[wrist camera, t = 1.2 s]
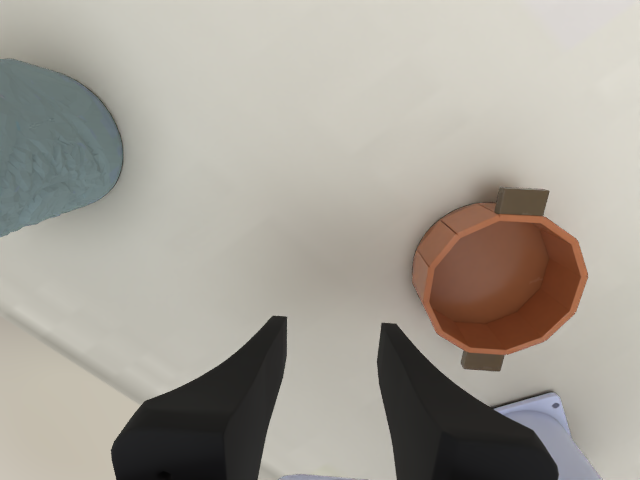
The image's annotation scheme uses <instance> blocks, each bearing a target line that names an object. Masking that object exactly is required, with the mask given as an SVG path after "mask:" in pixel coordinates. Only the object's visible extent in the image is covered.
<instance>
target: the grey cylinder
mask: <svg viewBox="0 0 640 480" xmlns="http://www.w3.org/2000/svg"><path fill="white" fill-rule="evenodd" d="M122 161H123V150H122V143H121V138H120V135H119V132H118V129H117V127H116V124H115V122H114V120H113V118H112V116H111V115H110V113H109V111H108V110H107V109H106V107H105V106H104V105H103V103H102V102H101V101H100V100H99V98H98V97H96V96H95V95H94V94H93V93H92V92H91V91H90V90H88V89H87V88H86V87H84V86H83V85H82V84H80V83H79V82H77V81H76V80H74V79H72V78H70V77H68V76H66V75H64V74H61V73H58V72H55V71H52V70H49V69H45V68H42V67H38V66H35V65H32V64H28V63H25V62H22V61H18V60H15V59H0V237H2V236H5V235H8V234H9V233H10V232H14V231H18V230H19V229H20V228H22V227H23V226H29V225H34V224H38V223H39V222H41V221H42V220H45V219H48V218H51V217H56V216H59V215H60V214H61V213H66V212H69V211H71V210H74V209H77V208H81V207H83V206H86V205H88V204H91V203H93V202H96V201H97V200H99V199H101V198H102V197H103V196H104V195H106V194H107V193H108V192H109V191H110V190H111V189H112V188H113V186H114V185H115V183H116V182H117V180H118V177H119V175H120V171H121V167H122Z"/></svg>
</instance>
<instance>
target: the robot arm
mask: <svg viewBox="0 0 640 480" xmlns="http://www.w3.org/2000/svg"><path fill="white" fill-rule="evenodd" d="M286 356H287V317H283V316H272V317H271V318H270V319H269V320H268V321H267V323H266V324H265V325H264V326H263V327H262V328H261V329H260V330H259V331H258V332H257V333H256V334H255V335H254V336H253V337H252V338H251V339H250V340H249V341H248V342H247V343H246V344H245V345H244V346H243V347H241V348H240V349H239V350H238V351H237V352H236V353H235V354H233V355H232V356H231V357H230V358H228V359H227V360H226V361H224V362H223V363H221V364H220V365H219V366H217V367H215V368H214V369H212V370H210V371H209V372H207V373H205V374H204V375H202V376H200V377H199V378H197V379H195V380H193V381H191V382H189V383H187V384H185V385H183V386H181V387H179V388H177V389H174V390H172V391H170V392H167V393H165V394H162V395H160V396H157V397H155V398H152V399H149V400H146V401H144V403H143V404H142V405H141V406H140V407H139V409H138V410H137V411H136V412H135V413H134V415H133V416H132V418H131V419H130V420H129V422H128V423H127V424H126V426H125V427H124V429H123V430H122V431H121V433H120V434H119V436H118V437H117V438H116V440H115V441H114V443H113V446H112V449H111V455H112V463H113V467H114V471H115V475H116V480H257V479H258V474H259V469H260V463H261V458H262V453H263V448H264V443H265V438H266V434H267V430H268V426H269V422H270V419H271V415H272V412H273V409H274V405H275V402H276V399H277V395H278V392H279V389H280V385H281V382H282V378H283V374H284V368H285V362H286ZM377 367H378V377H379V385H380V390H381V394H382V399H383V403H384V408H385V412H386V416H387V421H388V425H389V429H390V434H391V439H392V445H393V452H394V460H395V468H396V476H397V480H603V479H602V478H601V476H600V475H599V474H598V472H597V471H596V470H595V468H594V467H593V466H592V465H591V463H590V462H589V461H588V459H587V458H586V457H585V455H584V454H583V453H582V451H581V450H580V449H579V447H578V446H577V445H576V444H575V442H574V441H573V440H572V437H571V433H570V430H569V426H568V423H567V419H566V416H565V413H564V409H563V406H562V402H561V399H560V397H559V396H558V395H557V394H556V393H553V392H551V393H547V394H543V395H540V396H536V397H533V398H529V399H526V400H522V401H519V402H515V403H512V404H508V405H505V406H501V407H498V408H494V409H492V408H490V407H489V406H487V405H485V404H484V403H482V402H481V401H479V400H477V399H476V398H474V397H473V396H471V395H470V394H469V393H467V392H466V391H464V390H463V389H461V388H460V387H459V386H457V385H456V384H455V383H454V382H452V381H451V380H450V379H449V378H447V377H446V376H445V375H444V374H443V373H441V372H440V371H439V370H438V369H437V368H436V367H435V366H434V365H433V364H432V363H431V362H430V361H429V360H428V359H427V358H426V357H425V356H424V355H423V354H422V353H421V352H420V351H419V350H418V349H417V348H416V347H415V346H414V344H413V343H412V342H411V341H410V340H409V339H408V337H407V336H406V335H405V334H404V333H403V331H402V330H401V329H400V328H399V327H398V326H397V324H392V323H382V325H381V333H380V342H379V350H378V358H377ZM278 480H367V479H355V478H343V477H330V476H318V475H306V474H296V475H286V476H283V477H281V478H280V479H278Z"/></svg>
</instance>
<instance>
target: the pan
mask: <svg viewBox="0 0 640 480" xmlns="http://www.w3.org/2000/svg"><path fill="white" fill-rule="evenodd" d="M548 195H549V191H548V190H545V189H532V188H511V187H500V188H499V193H498V197H497V202H496V203H494V202H484V203H476V204H471V205H468V206H464V207H462V208H459V209H456V210H454V211H453V212H451V213H449V214H447V215H446V216H444V217H443V218H441V219H440V220H439V221H437V222H436V223H435V224H434V225H433V226H432V227H431V228H430V229H429V230H428V231H427V232H426V234H425V235H424V237H423V238H422V240H421V241H420V243H419V245H418V247H417V250H416V252H415V255H414V260H413V266H412V277H413V278H412V283H413V286H414V288H415V290H416V292H417V294H418V296H419V298H420V300H421V302H422V304H423V306H424V309H425V311H426V313H427V315H428V317H429V319H430V321H431V323H432V325H433V327H434V329H435V331H436V333H437V334H438V335H440V336H441V337H443V338H445V339H446V340H448V341H449V342H451V343H453V344H454V345H456V346H458V347H459V348H461V349H463V350H464V351H463V355H462V360H461V365H462V367H463V368H464V369H472V370H486V371H500V370H501V366H502V362H503V359H504V355H506V354H507V355H508V354H511V353H514V352H517V351H519V350H522V349H525V348H528V347H531V346H533V345H536V344H539V343H542V342H544V340H547V339H548V338H549V337H550V336H552V335H553V334H554V333H555V332H556V331H557V330H558V329H559V328H560V327H561V326H562V325H563V324H564V323H565V322H566V321H568V320H569V319H570V318H571V317H572V316H573V315H574V314H575V313H574V312H576V311H577V308H578V305H579V302H580V299H581V296H582V293H583V290H584V287H585V284H586V281H587V279H588V273H587V269H586V266H585V263H584V259H583V256H582V253H581V249H580V246H579V243H578V241H577V239H576V238H574V237H573V236H572V235H570V234H569V233H567V232H566V231H565V230H563V229H562V228H560V227H559V226H557V225H556V224H555V223H553V222H552V221H550V220H549V219H548V218H546V217H544V216H543V213H544V210H545V206H546V202H547V199H548Z"/></svg>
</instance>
